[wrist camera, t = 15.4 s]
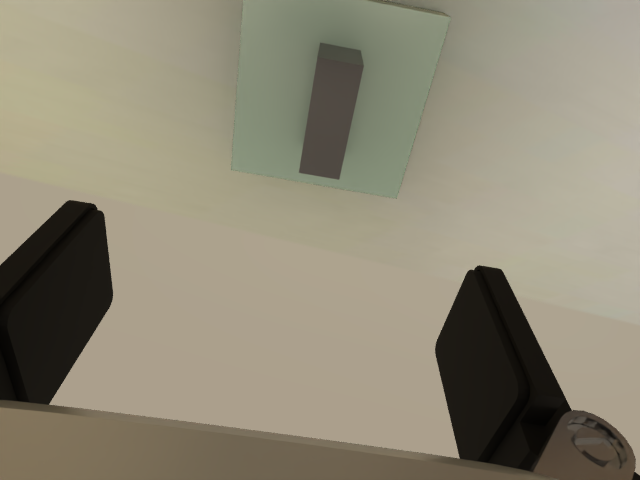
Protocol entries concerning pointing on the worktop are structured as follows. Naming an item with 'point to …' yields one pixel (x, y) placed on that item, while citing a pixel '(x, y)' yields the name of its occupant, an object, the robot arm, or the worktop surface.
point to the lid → (333, 90)
